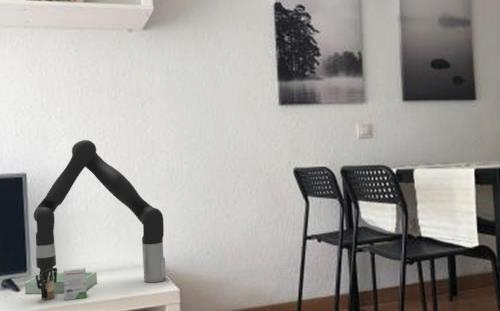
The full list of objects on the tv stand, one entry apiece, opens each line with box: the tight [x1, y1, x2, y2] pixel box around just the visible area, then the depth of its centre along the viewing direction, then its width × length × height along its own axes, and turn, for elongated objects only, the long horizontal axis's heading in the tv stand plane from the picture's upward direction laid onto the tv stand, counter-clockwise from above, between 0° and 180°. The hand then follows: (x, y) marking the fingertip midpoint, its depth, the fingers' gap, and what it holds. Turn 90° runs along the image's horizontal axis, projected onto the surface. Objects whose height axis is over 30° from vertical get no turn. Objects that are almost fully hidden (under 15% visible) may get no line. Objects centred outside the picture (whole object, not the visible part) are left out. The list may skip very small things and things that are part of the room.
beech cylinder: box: [40, 280, 55, 301], centre depth 210 cm, size 5×5×7 cm
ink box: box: [62, 267, 88, 301], centre depth 209 cm, size 8×5×12 cm, turn 105°
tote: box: [24, 271, 98, 295], centre depth 225 cm, size 26×16×5 cm, turn 85°
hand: (47, 295), depth 210 cm, fingers closed on beech cylinder, 5 cm apart
